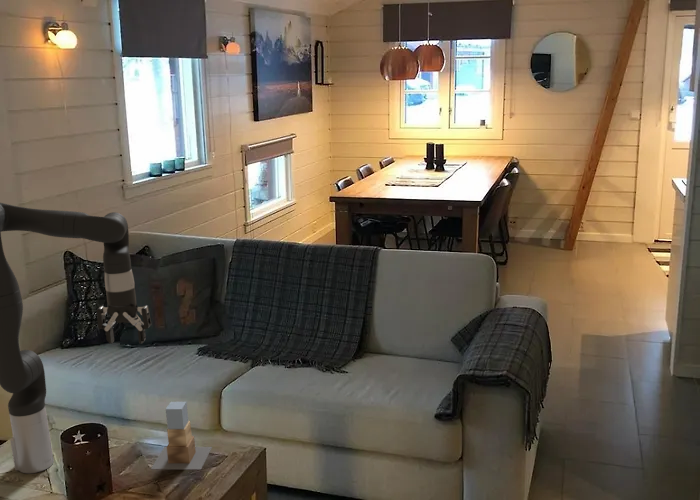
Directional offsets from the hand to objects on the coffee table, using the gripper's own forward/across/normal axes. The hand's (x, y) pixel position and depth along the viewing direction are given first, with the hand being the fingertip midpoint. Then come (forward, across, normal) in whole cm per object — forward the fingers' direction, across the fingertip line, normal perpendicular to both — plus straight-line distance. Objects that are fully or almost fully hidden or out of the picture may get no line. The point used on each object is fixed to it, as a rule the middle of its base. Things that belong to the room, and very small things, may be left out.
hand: (126, 342), depth 206 cm
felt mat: (+33, +14, -5) cm, 36 cm away
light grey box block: (+22, +14, -5) cm, 27 cm away
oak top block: (+28, +14, -5) cm, 31 cm away
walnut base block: (+32, +14, -5) cm, 36 cm away
